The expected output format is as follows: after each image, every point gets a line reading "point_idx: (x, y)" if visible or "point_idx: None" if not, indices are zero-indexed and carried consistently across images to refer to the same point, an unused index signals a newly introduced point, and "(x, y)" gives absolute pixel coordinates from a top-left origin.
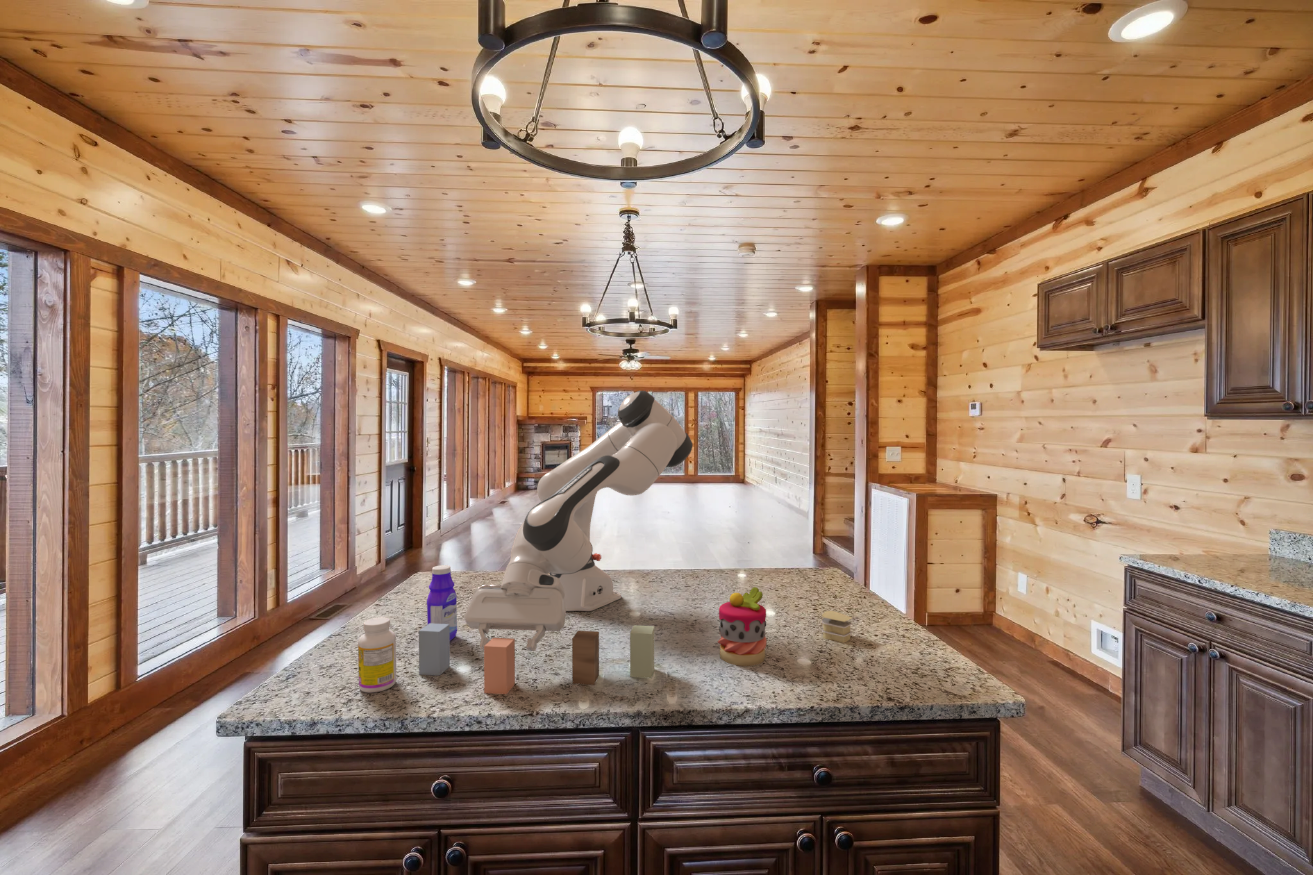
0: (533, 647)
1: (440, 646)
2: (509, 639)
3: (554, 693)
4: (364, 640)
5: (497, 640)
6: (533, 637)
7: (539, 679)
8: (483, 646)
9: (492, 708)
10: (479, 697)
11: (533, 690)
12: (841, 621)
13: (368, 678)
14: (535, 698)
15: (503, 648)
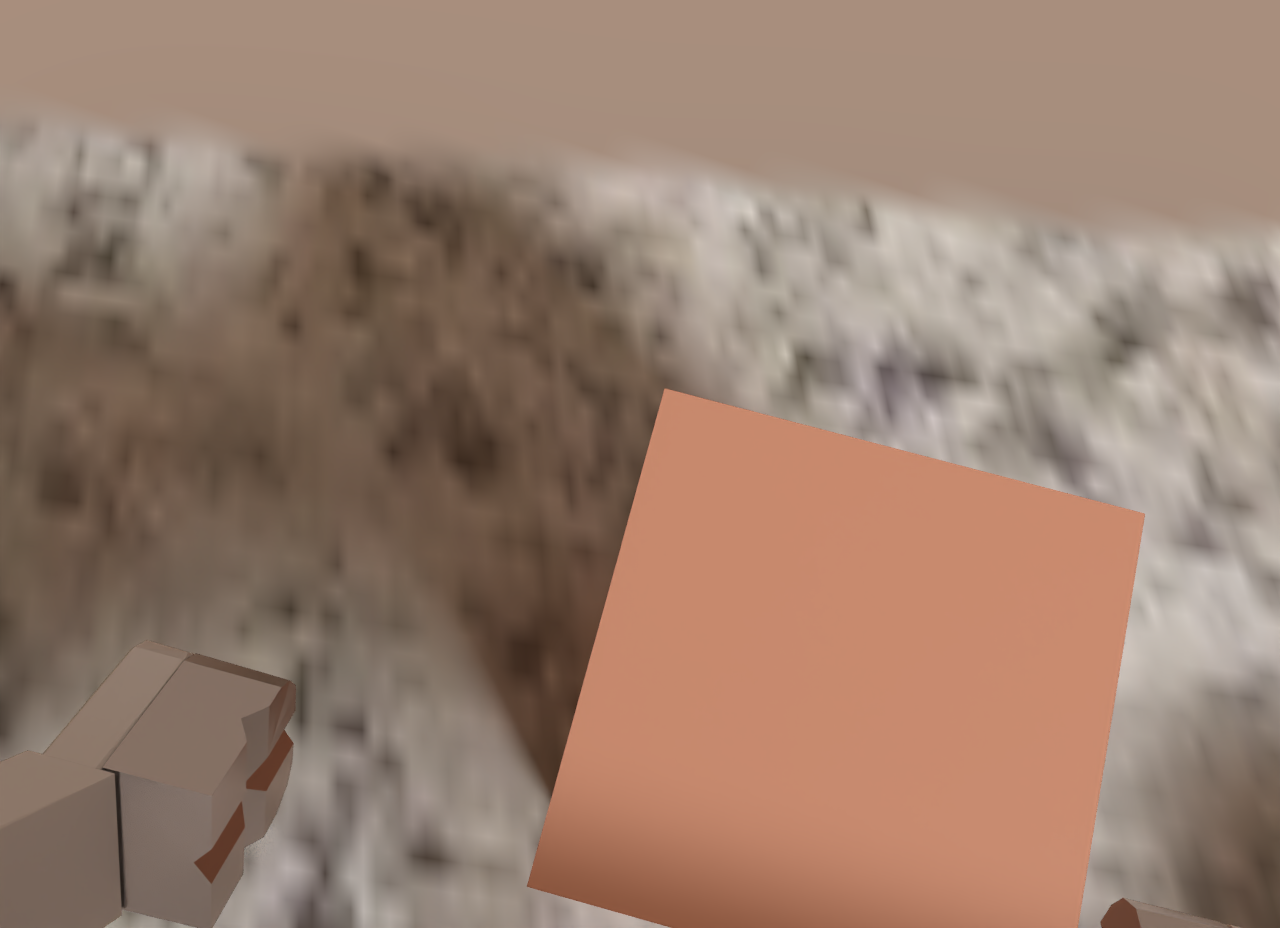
0: (146, 648)
1: None
2: (647, 848)
3: (100, 498)
4: None
5: (919, 812)
6: (66, 789)
7: (261, 918)
8: (1187, 917)
9: (751, 263)
10: None
11: (338, 609)
12: None
13: None
14: (316, 410)
15: (722, 408)
